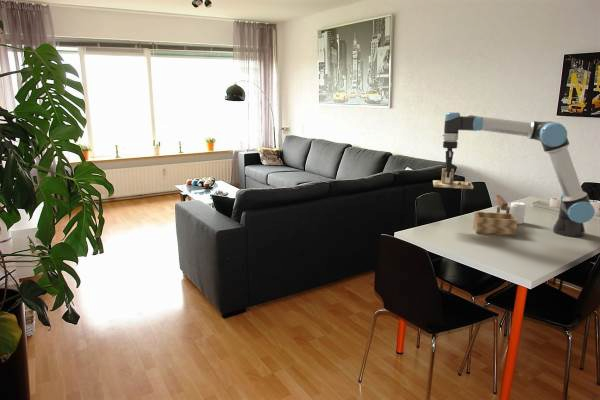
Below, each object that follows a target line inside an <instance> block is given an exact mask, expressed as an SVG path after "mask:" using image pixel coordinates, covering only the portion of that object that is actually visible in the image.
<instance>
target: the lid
mask: <svg viewBox="0 0 600 400" xmlns="http://www.w3.org/2000/svg"><path fill="white" fill-rule="evenodd" d="M445 171H446V168H445V167H444V168H443V167H442V168H441V180H439V179H437V180H435V179H434V180H432V185H433V188H445V189H446V188H448V189H449V188H450V189H469V190H473V189H474V185H473V184H472V182H471V181H459V180H454V176H455V175H454V173H455V169H454V168H451V177H450V183H445V174H446V172H445Z"/></svg>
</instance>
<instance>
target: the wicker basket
mask: <svg viewBox="0 0 600 400" xmlns="http://www.w3.org/2000/svg"><path fill="white" fill-rule="evenodd" d="M473 216H474V217H473V223H472V225H473V229H474V232H475V234H479V235H480V234H481V235H492V236H493V235H495V236H503V237H505V236H506V237H516V234H517V226H518V224H517V219H516V218H515V217H514V216H513V214H510V207H509V206H508V207H507V210H505V213H502V212H501V209H500V207H499V206H498V205H497V206H496V212H486V211H474V214H473Z"/></svg>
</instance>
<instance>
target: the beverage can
mask: <svg viewBox="0 0 600 400" xmlns="http://www.w3.org/2000/svg"><path fill="white" fill-rule="evenodd" d="M509 214H513V216H514V217H515V218H516V219H517V225H521V224H524V221H525V216H526V215H525V214H526V203H524V202H521V201H512V202H511V204H510V212H509Z"/></svg>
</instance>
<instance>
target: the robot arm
mask: <svg viewBox="0 0 600 400" xmlns="http://www.w3.org/2000/svg"><path fill="white" fill-rule="evenodd" d="M443 129H444V130H443V134H442V137H443V142H442V147H443V149H446V150H445V164H444V165H445V166H444V168H446V171H445V172H446V174H445V183H450V177H451V169H452V167H453V158H454V157H453V156H454V153H455V152H454V151H453V149H457V148H458V140H459V131H471V132H472V131H473V132H476V131H477V132H478V131H479V132H480V131H483V132H489V133H497V134H503V135H504V134H505V135H514V136H521V137H527V138H528V139H529V140H535V141H539V142H540V143H541V146H542V148H543V152H545V153H547V154H548V155H549V158H550V161H551V164H552V167H553V169H554V172H555V175H556V178H557V181H558V183H559V186H560V189H561V192H562V194H561V197H560V204H559V205H560V206H559V211H558V212H559V213H558V218H557V220H556V221H555V224H554V226H553V228H552V232H553V233H555V234H558V235H561V236H566V237H575V238H579V237H584V236H585V233H586V230H585V226H584V223H588V222H590V221H591V219H593V217H595V212H596V211H595V207H594V205H593V204H592V203H591V201H590V198H589V195H588V193H587V192H585V191H584V190H583V189H582V186H581V182H580V180H579V177H578V175H577V172H576V169H575V166H574V163H573V160H572V157H571V155H570V152H569V149H568V148H569V146H570V142H569V139H568V131H567V130H568V129H566V127H565V125H563V124H562V123H560V122H556V121H535V120H534V121H533V120H532V121H531V122H529V121H528V122H527V121H521V120H511V119H503V118H495V117H487V116H486V117H485V116H477V115H472V114H469V115H468V116H463V115H462V116H461V112H446V113H445V118H444V127H443Z"/></svg>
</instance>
